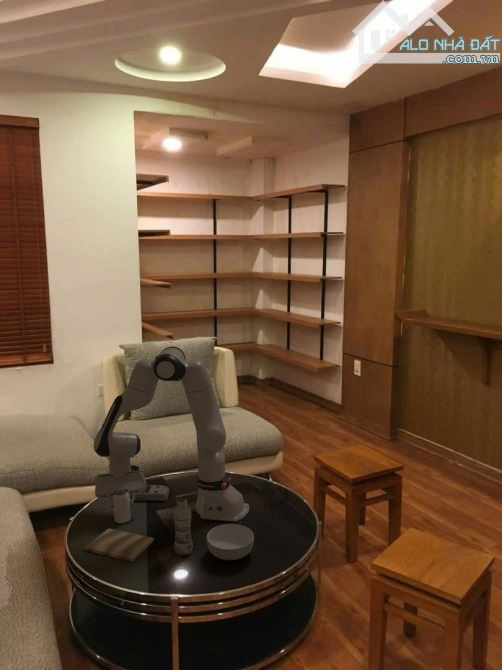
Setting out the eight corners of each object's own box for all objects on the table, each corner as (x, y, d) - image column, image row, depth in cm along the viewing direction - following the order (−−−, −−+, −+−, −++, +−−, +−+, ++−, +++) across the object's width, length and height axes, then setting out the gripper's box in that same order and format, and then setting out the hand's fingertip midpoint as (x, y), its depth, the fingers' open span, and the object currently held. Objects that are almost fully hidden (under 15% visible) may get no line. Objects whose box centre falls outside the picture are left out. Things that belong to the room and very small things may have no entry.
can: (134, 516, 212) (132, 489, 210) (125, 524, 206) (123, 496, 204) (120, 514, 214) (118, 487, 212) (111, 522, 208) (108, 494, 206)
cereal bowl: (249, 570, 176) (249, 551, 175) (201, 566, 179) (201, 546, 178) (257, 542, 193) (257, 524, 192) (213, 539, 196) (212, 521, 194)
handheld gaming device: (166, 502, 226) (165, 493, 225) (132, 501, 226) (131, 493, 225) (169, 492, 234) (169, 484, 234) (137, 492, 235) (136, 484, 234)
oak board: (153, 540, 195) (153, 537, 194) (132, 561, 182) (132, 558, 181) (108, 531, 202) (108, 528, 201) (85, 550, 189) (84, 547, 188)
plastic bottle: (185, 560, 182) (183, 506, 179) (170, 554, 186) (168, 501, 183) (196, 551, 188) (195, 498, 185) (182, 545, 191) (180, 494, 188)
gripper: (93, 472, 211) (93, 506, 203) (145, 466, 216) (147, 499, 208) (94, 477, 216) (95, 511, 208) (145, 472, 221) (147, 504, 213)
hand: (121, 505), depth 208 cm, fingers closed on can, 6 cm apart
